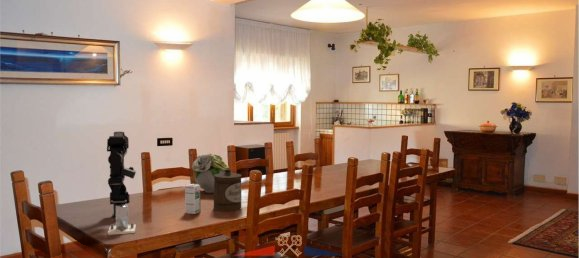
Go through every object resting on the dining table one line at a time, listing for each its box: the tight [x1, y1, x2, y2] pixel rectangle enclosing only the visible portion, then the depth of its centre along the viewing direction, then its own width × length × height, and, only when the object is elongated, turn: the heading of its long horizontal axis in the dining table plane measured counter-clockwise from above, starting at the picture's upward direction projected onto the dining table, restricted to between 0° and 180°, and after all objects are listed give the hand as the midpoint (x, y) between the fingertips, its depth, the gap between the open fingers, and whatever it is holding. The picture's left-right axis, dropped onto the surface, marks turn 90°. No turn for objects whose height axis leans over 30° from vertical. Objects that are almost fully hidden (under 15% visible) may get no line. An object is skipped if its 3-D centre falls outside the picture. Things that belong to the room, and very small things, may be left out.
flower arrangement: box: [191, 153, 230, 194], centre depth 299 cm, size 25×25×24 cm
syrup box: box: [184, 183, 202, 215], centre depth 244 cm, size 6×6×14 cm
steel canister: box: [115, 204, 129, 230], centre depth 209 cm, size 5×5×10 cm
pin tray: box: [107, 222, 137, 236], centre depth 209 cm, size 11×11×3 cm
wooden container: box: [213, 167, 242, 212], centre depth 255 cm, size 15×15×22 cm
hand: (116, 196), depth 220 cm, fingers open, 9 cm apart
